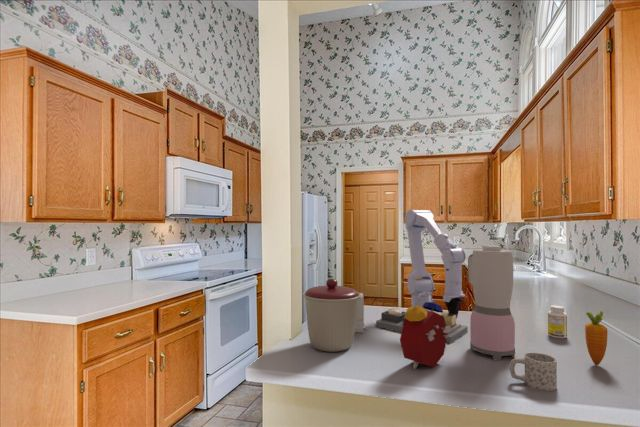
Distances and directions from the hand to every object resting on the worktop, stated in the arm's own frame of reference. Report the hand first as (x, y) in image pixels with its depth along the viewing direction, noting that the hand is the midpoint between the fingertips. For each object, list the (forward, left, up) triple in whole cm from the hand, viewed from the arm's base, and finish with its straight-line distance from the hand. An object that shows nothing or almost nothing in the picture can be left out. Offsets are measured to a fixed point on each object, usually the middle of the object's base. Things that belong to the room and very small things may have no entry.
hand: (453, 318), depth 133 cm
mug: (+32, +31, -4) cm, 44 cm away
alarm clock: (+38, +7, -4) cm, 38 cm away
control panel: (+8, -9, -4) cm, 12 cm away
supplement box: (+25, -27, -4) cm, 37 cm away
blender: (+15, +16, -4) cm, 22 cm away
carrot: (+7, +42, -4) cm, 43 cm away
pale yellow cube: (+5, 0, -2) cm, 5 cm away
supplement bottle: (-16, +30, -4) cm, 34 cm away
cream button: (+9, -19, 0) cm, 21 cm away
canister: (+44, -22, -4) cm, 49 cm away
